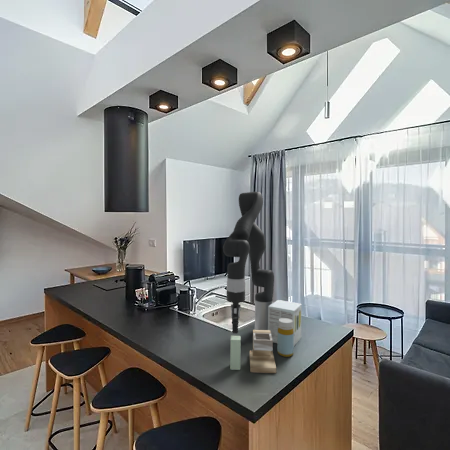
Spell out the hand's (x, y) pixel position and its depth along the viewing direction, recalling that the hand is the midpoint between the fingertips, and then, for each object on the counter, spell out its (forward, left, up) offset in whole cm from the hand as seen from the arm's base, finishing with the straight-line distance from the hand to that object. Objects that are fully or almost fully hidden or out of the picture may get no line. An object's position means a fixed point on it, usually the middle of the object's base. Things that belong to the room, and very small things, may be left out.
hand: (235, 328), depth 116 cm
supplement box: (-28, +24, -16) cm, 40 cm away
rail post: (0, 0, -16) cm, 16 cm away
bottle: (-13, +22, -16) cm, 30 cm away
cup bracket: (-4, +11, -16) cm, 20 cm away
